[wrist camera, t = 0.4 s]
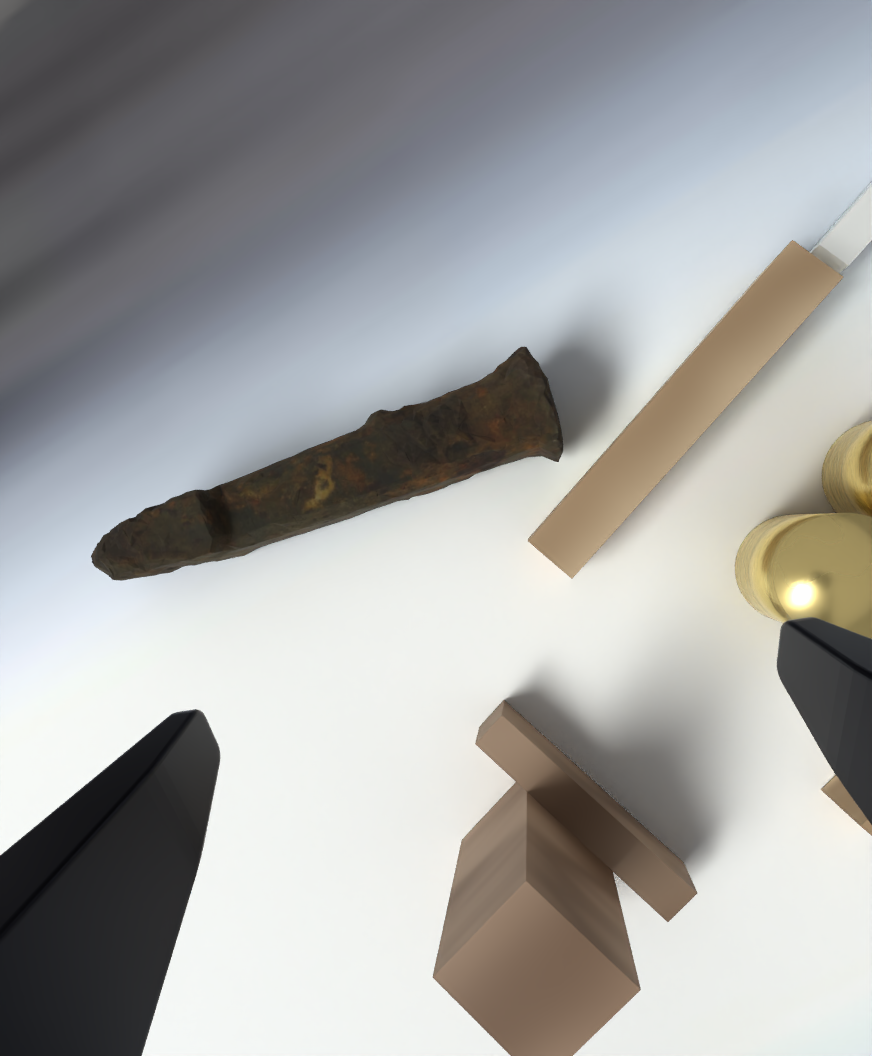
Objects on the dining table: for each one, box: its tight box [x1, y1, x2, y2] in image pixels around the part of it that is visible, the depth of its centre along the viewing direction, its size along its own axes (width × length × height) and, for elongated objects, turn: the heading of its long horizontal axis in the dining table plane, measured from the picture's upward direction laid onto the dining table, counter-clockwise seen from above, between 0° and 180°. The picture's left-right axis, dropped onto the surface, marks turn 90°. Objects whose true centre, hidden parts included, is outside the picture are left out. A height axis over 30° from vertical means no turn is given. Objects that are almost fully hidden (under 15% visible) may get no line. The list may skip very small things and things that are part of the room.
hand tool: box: [91, 347, 563, 580], centre depth 22 cm, size 19×4×5 cm, turn 107°
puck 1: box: [735, 513, 872, 639], centre depth 19 cm, size 4×4×4 cm
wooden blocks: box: [528, 240, 872, 835], centre depth 19 cm, size 16×13×2 cm
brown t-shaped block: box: [433, 700, 697, 1056], centre depth 19 cm, size 9×6×7 cm, turn 49°
